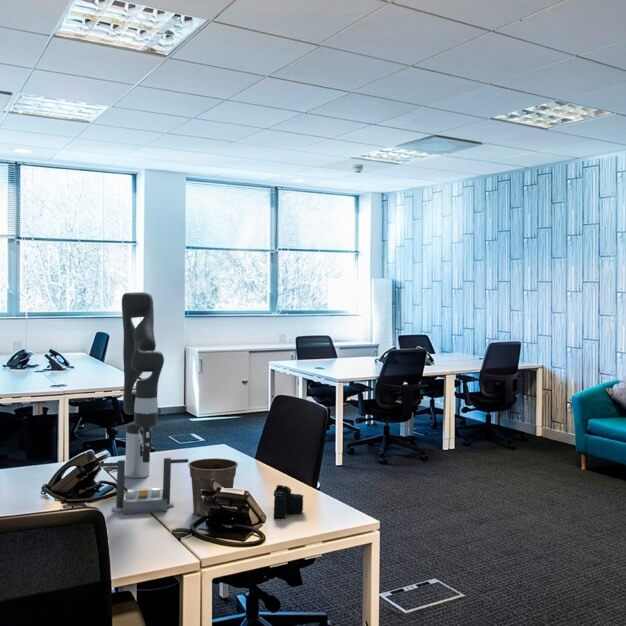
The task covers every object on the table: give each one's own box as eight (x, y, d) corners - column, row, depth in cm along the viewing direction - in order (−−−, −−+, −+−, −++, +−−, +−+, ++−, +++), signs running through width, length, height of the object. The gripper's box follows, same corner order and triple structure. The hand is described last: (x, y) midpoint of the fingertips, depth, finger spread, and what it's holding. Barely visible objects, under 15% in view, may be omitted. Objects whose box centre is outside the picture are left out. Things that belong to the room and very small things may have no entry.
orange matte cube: (139, 494, 224) (139, 488, 224) (146, 494, 225) (147, 488, 225) (140, 496, 222) (140, 490, 222) (147, 496, 223) (147, 490, 223)
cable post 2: (157, 504, 227) (158, 457, 227) (186, 502, 231) (187, 456, 231) (159, 508, 223) (160, 460, 222) (188, 506, 226) (189, 459, 226)
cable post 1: (97, 508, 221) (98, 460, 220) (127, 506, 224) (128, 458, 224) (97, 513, 216) (99, 463, 216) (128, 511, 219) (129, 462, 219)
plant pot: (182, 506, 226) (183, 459, 226) (229, 502, 232) (230, 456, 232) (192, 522, 211) (194, 471, 210) (242, 517, 217) (243, 467, 216)
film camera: (301, 521, 215) (302, 493, 215) (271, 520, 215) (272, 492, 215) (303, 507, 230) (304, 481, 230) (275, 506, 230) (276, 480, 230)
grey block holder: (120, 503, 227) (120, 486, 226) (162, 500, 231) (162, 483, 231) (122, 514, 215) (123, 496, 215) (167, 511, 220) (167, 493, 220)
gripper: (132, 407, 228) (131, 455, 228) (136, 414, 215) (135, 464, 215) (154, 407, 231) (153, 454, 231) (160, 413, 218) (158, 463, 218)
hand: (144, 459), depth 223 cm, fingers open, 8 cm apart
